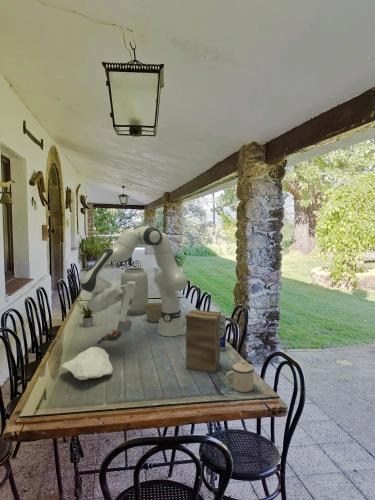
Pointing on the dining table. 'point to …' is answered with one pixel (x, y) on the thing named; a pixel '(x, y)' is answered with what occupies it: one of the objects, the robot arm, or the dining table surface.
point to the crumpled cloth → (90, 364)
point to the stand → (203, 340)
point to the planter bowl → (153, 311)
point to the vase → (136, 289)
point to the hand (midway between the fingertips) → (134, 283)
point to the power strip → (126, 310)
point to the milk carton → (222, 332)
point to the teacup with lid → (242, 376)
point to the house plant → (87, 316)
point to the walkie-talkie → (110, 336)
